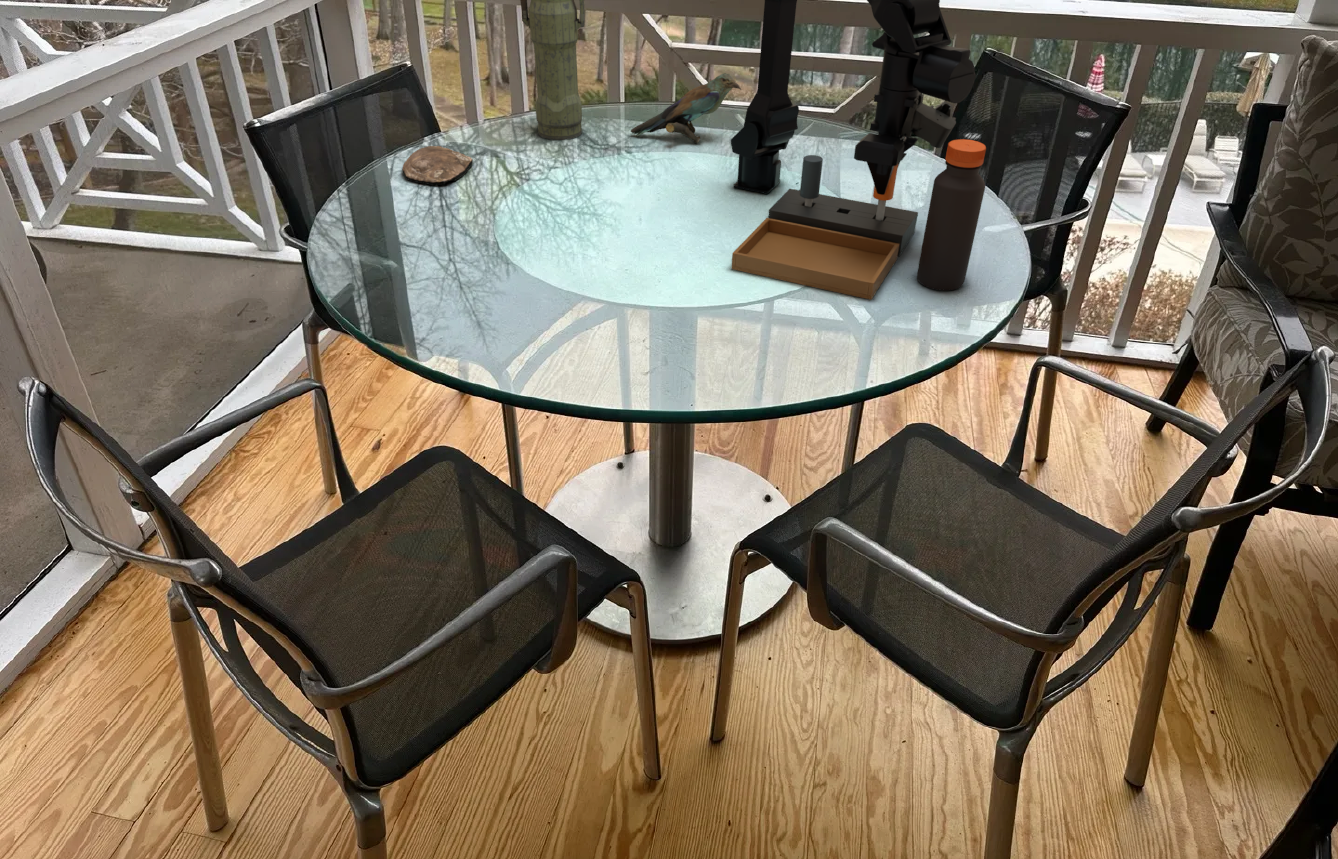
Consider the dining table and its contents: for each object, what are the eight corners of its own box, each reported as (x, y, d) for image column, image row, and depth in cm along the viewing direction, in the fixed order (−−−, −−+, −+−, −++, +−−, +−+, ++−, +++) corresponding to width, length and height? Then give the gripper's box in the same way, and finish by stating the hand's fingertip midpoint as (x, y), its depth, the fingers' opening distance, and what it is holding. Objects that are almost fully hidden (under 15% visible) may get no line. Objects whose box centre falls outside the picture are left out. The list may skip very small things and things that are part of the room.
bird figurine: (624, 141, 180) (679, 50, 169) (633, 125, 188) (686, 38, 177) (682, 180, 182) (741, 93, 172) (688, 163, 190) (744, 79, 180)
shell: (388, 180, 165) (385, 160, 163) (423, 155, 175) (420, 136, 173) (448, 187, 162) (445, 167, 160) (479, 162, 172) (477, 143, 170)
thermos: (532, 124, 190) (517, -70, 169) (590, 125, 190) (583, -69, 169) (527, 139, 182) (511, -61, 162) (588, 140, 183) (580, -61, 162)
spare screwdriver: (794, 226, 151) (800, 159, 144) (800, 219, 153) (807, 153, 147) (812, 229, 150) (819, 162, 143) (818, 222, 152) (825, 156, 146)
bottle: (973, 288, 134) (1003, 151, 122) (930, 294, 133) (957, 156, 121) (948, 267, 140) (976, 134, 128) (907, 273, 138) (931, 138, 126)
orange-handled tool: (866, 229, 146) (876, 160, 139) (871, 221, 148) (881, 153, 142) (885, 232, 145) (896, 163, 138) (890, 225, 147) (901, 156, 141)
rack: (899, 257, 142) (902, 235, 140) (767, 230, 150) (768, 209, 148) (914, 232, 150) (918, 211, 147) (787, 208, 157) (789, 188, 155)
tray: (731, 269, 139) (732, 252, 137) (765, 232, 149) (766, 217, 147) (871, 299, 131) (873, 283, 130) (896, 259, 142) (899, 243, 140)
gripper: (942, 112, 124) (921, 222, 133) (969, 76, 138) (949, 178, 147) (860, 100, 128) (846, 208, 137) (895, 66, 141) (880, 167, 151)
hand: (883, 190), depth 143 cm, fingers closed on orange-handled tool, 3 cm apart
